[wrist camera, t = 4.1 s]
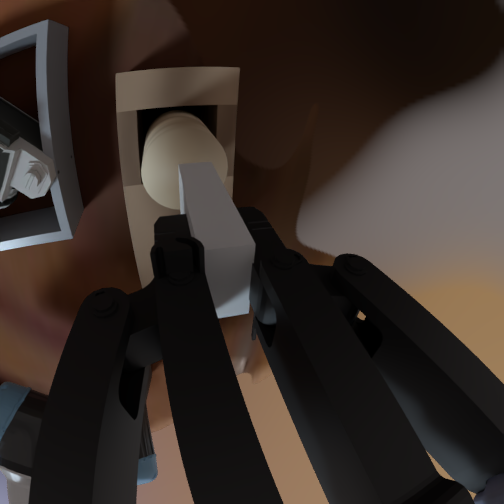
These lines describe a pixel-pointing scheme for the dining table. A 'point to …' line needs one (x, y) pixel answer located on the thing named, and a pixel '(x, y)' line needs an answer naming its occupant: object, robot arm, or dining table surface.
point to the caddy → (47, 139)
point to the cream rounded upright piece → (177, 154)
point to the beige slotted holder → (132, 140)
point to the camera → (22, 156)
